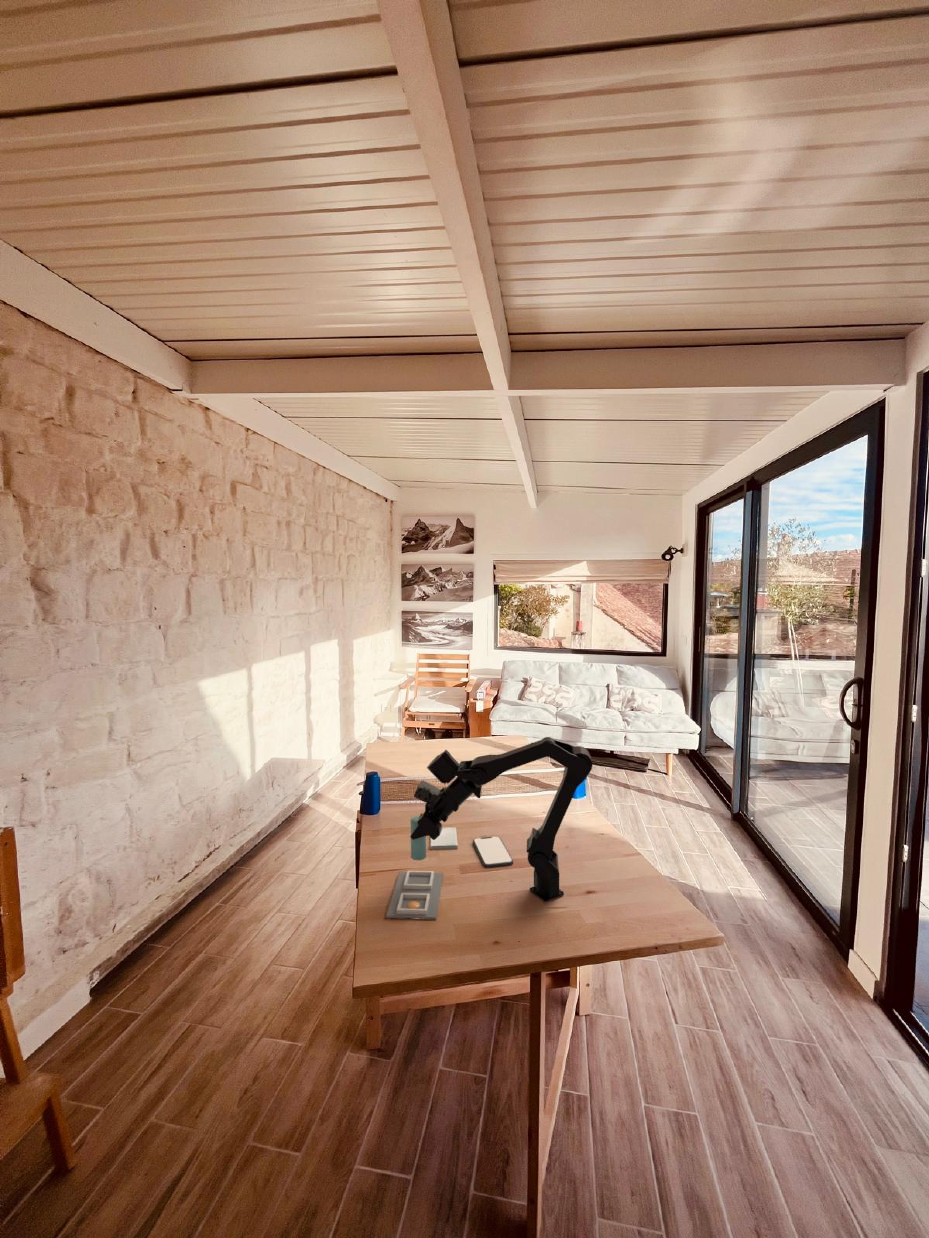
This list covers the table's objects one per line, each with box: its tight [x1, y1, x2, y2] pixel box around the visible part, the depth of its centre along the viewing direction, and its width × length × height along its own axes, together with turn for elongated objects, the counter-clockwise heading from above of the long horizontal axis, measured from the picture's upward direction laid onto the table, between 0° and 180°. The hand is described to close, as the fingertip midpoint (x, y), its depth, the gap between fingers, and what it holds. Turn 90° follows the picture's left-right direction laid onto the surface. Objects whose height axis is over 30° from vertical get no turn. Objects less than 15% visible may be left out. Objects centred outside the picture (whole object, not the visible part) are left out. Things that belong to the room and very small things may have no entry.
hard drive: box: [429, 826, 459, 850], centre depth 173 cm, size 2×8×12 cm
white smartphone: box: [472, 835, 514, 869], centre depth 165 cm, size 9×2×16 cm
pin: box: [410, 815, 427, 861], centre depth 147 cm, size 4×4×10 cm
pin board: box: [385, 870, 444, 920], centre depth 143 cm, size 20×12×2 cm, turn 178°
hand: (413, 834), depth 147 cm, fingers closed on pin, 4 cm apart
